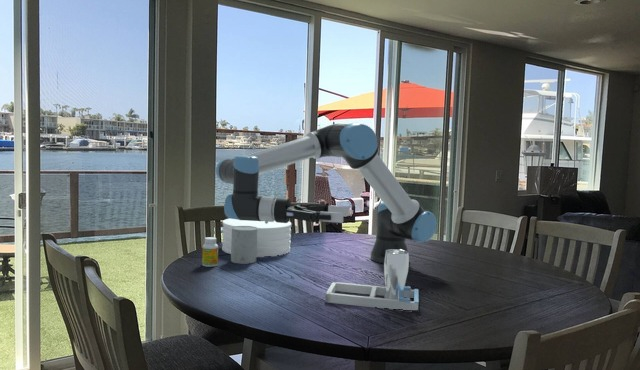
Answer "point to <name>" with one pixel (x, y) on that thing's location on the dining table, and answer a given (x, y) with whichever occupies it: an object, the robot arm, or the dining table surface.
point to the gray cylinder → (244, 244)
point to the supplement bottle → (210, 252)
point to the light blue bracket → (416, 298)
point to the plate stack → (261, 236)
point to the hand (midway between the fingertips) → (346, 214)
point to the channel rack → (367, 301)
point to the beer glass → (395, 273)
